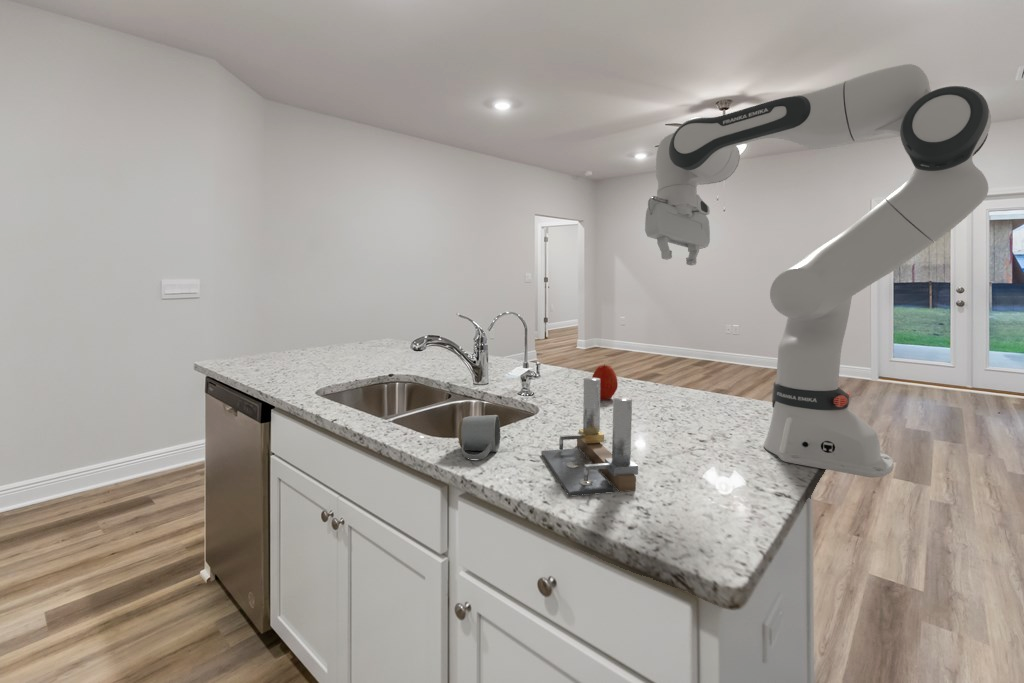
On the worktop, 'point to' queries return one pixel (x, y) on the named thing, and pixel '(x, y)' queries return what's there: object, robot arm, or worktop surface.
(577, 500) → the worktop surface
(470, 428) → the ceramic mug
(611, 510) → the worktop surface
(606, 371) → the red egg shape
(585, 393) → the sliding leg
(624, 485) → the rail
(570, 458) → the hole plate
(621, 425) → the fixed leg
